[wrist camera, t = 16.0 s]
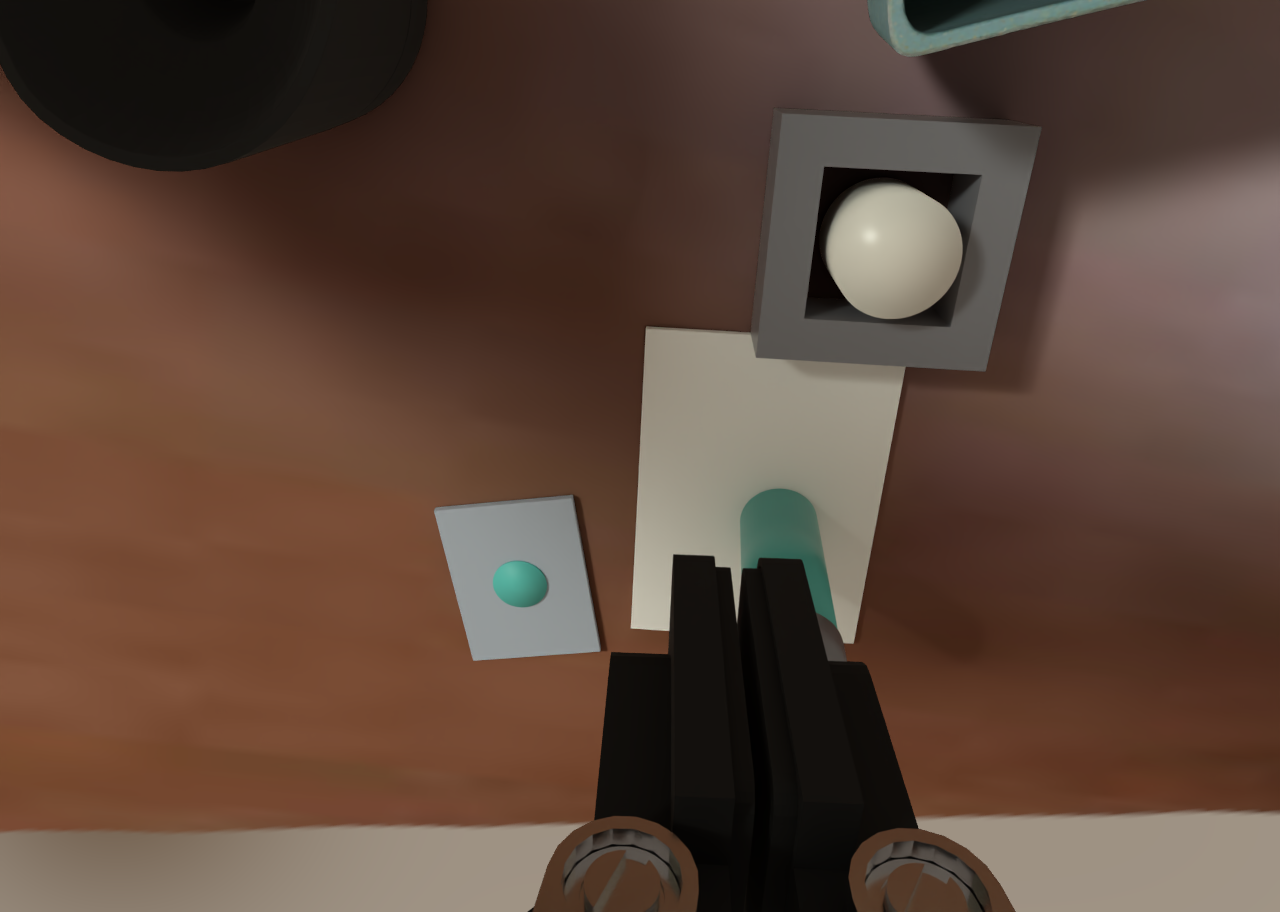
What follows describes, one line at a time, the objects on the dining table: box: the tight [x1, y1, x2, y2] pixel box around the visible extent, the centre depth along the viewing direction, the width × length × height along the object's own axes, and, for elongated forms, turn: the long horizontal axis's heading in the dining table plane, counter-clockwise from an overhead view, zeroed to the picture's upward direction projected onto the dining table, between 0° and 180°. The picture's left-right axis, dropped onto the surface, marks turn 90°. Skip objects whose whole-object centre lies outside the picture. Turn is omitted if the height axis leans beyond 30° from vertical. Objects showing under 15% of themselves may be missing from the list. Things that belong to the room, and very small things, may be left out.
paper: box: [631, 326, 905, 644], centre depth 36 cm, size 14×10×1 cm
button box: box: [750, 108, 1042, 372], centre depth 30 cm, size 8×8×3 cm
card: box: [434, 495, 601, 661], centre depth 38 cm, size 8×6×1 cm
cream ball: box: [819, 177, 963, 319], centre depth 29 cm, size 4×4×4 cm
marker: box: [740, 489, 847, 661], centre depth 31 cm, size 3×3×10 cm
